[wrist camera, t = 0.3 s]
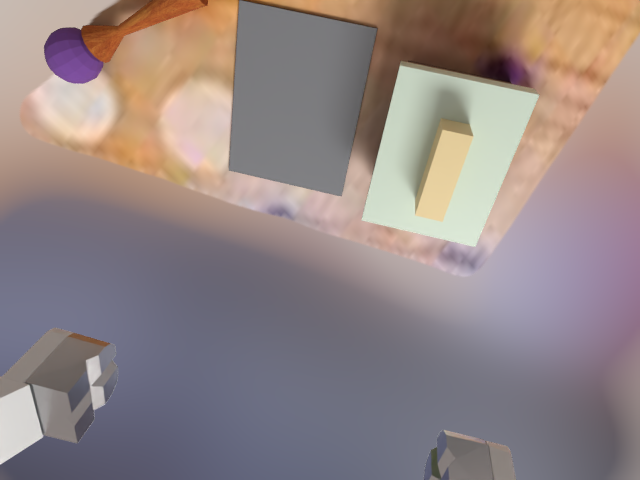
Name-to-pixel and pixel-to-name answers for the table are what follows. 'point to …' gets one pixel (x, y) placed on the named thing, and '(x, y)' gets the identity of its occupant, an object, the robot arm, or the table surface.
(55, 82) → the table surface
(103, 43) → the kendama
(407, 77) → the lid
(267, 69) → the mat
